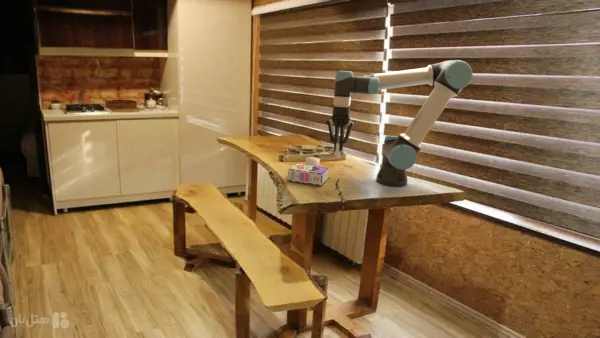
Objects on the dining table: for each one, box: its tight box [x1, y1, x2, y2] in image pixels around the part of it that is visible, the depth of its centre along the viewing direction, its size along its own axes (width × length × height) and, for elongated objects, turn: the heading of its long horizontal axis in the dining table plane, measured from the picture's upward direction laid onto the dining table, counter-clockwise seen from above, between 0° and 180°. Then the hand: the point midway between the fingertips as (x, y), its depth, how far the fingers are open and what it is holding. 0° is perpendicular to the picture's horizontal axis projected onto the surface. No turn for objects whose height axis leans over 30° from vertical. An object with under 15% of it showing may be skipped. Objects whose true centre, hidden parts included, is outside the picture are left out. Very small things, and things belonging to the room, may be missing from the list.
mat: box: [291, 176, 330, 187], centre depth 221 cm, size 12×18×1 cm, turn 157°
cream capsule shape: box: [305, 156, 321, 166], centre depth 236 cm, size 7×7×7 cm
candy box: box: [287, 163, 329, 186], centre depth 218 cm, size 14×6×16 cm
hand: (337, 157), depth 213 cm, fingers closed
